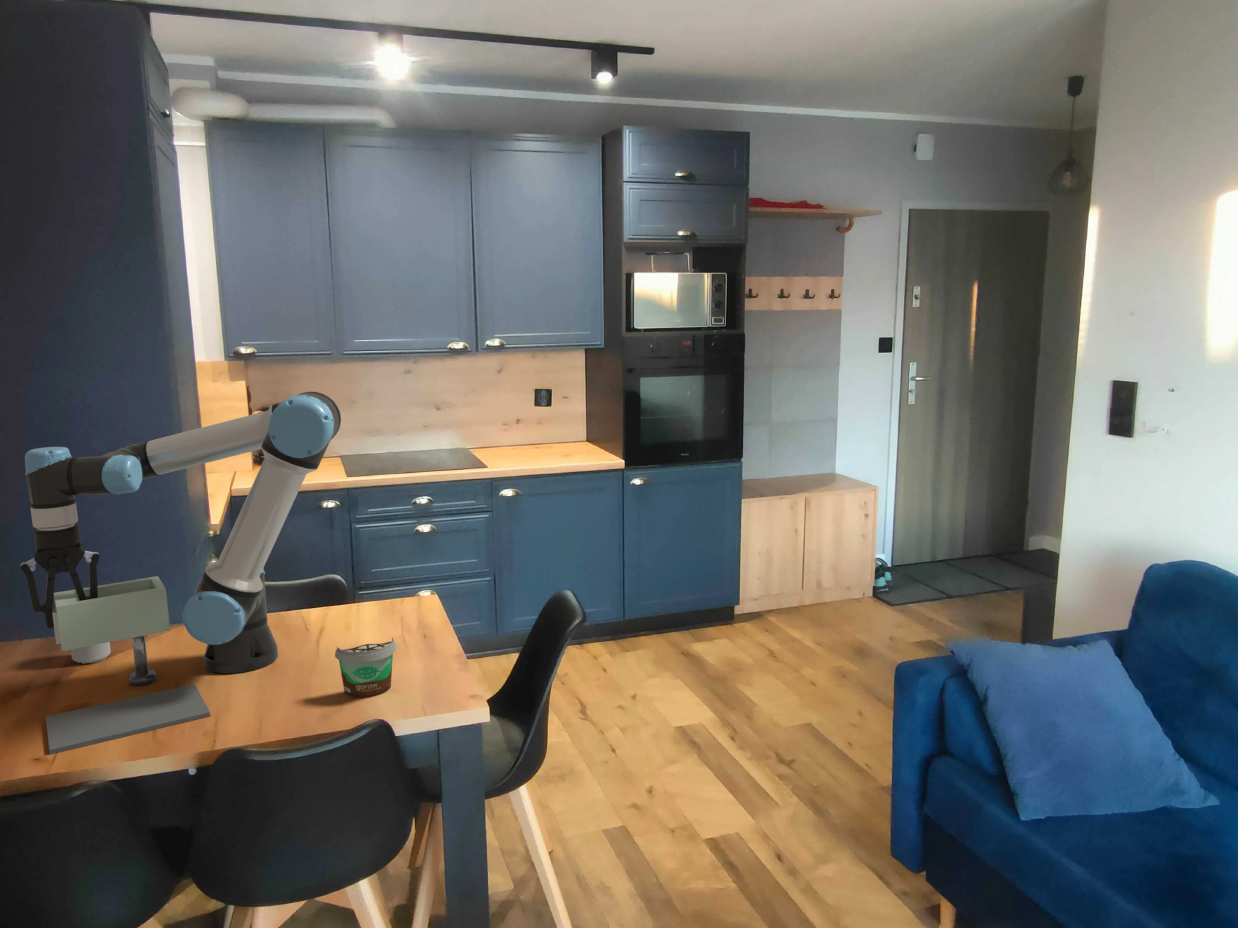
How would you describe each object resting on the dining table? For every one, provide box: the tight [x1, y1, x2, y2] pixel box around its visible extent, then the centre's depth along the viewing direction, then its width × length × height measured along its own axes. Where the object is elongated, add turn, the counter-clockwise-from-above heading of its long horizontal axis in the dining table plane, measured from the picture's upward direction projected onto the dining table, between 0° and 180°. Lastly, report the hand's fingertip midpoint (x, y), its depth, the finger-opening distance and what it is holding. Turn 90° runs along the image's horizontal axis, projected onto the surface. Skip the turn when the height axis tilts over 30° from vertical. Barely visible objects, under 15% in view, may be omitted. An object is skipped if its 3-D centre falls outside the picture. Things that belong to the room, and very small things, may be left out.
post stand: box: [128, 635, 157, 687], centre depth 183 cm, size 5×5×15 cm
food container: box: [334, 636, 397, 699], centre depth 178 cm, size 12×6×10 cm, turn 117°
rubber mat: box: [45, 683, 211, 755], centre depth 167 cm, size 26×16×1 cm, turn 125°
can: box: [70, 642, 112, 665], centre depth 195 cm, size 8×8×12 cm
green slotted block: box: [53, 575, 171, 652], centre depth 179 cm, size 19×11×9 cm, turn 125°
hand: (70, 639), depth 175 cm, fingers closed on green slotted block, 3 cm apart
